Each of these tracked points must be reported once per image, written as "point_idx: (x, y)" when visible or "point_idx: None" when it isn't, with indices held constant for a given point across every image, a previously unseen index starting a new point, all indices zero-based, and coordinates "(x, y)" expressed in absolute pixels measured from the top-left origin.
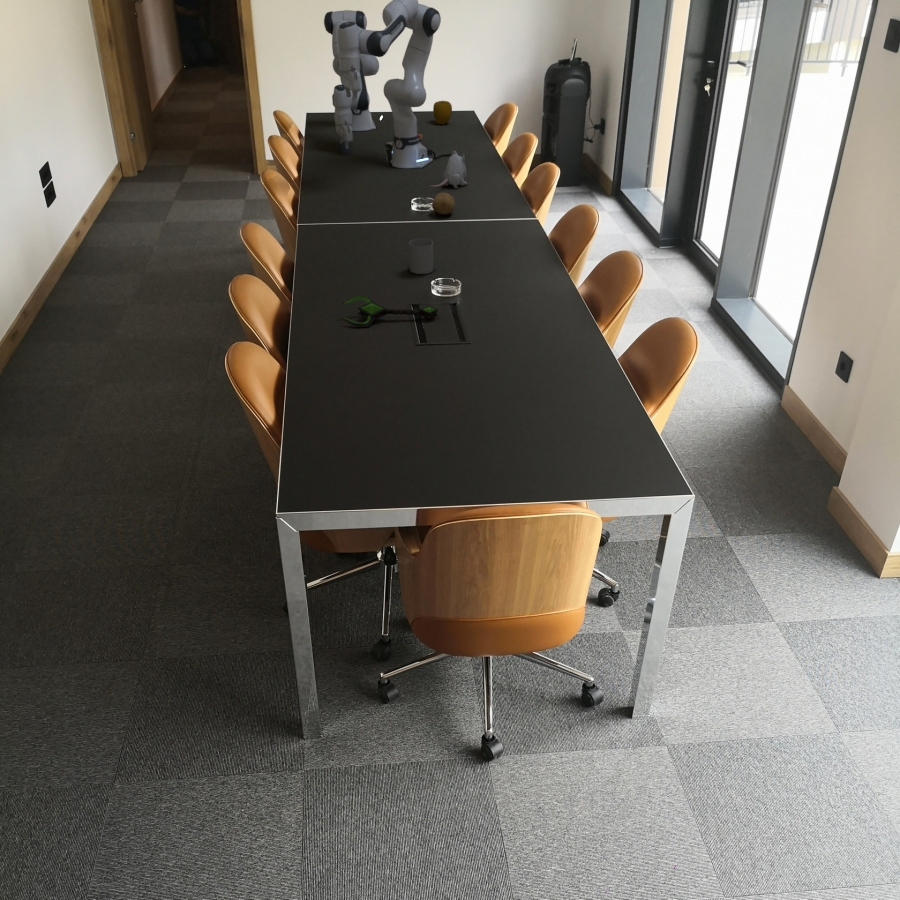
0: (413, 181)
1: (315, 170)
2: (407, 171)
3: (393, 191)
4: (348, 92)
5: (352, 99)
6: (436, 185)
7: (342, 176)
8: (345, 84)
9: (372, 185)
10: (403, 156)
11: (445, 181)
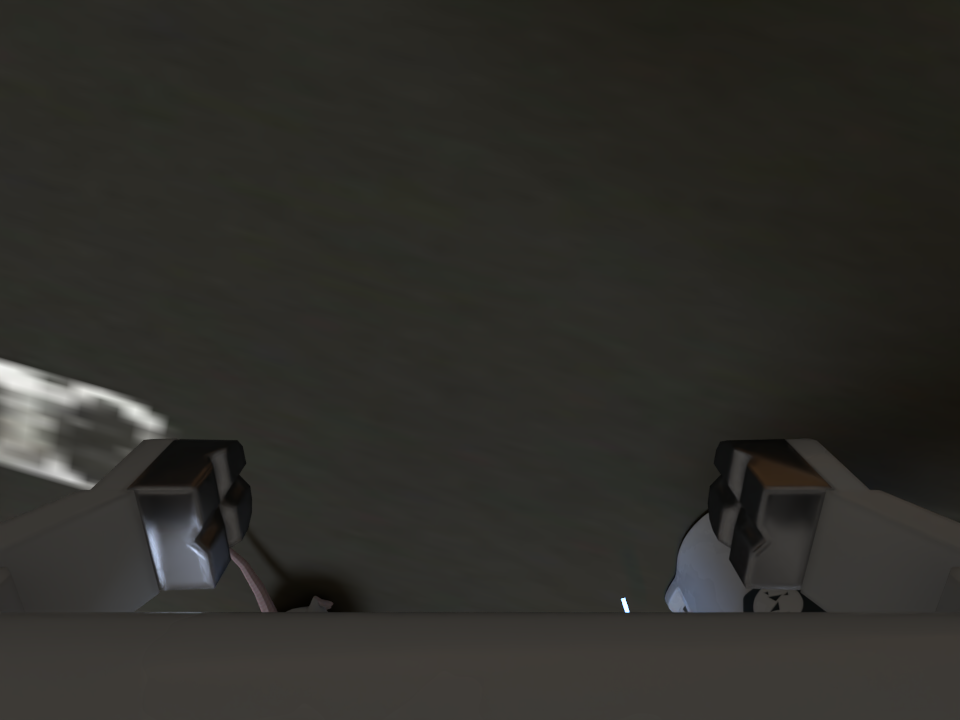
0: (451, 500)
1: (950, 32)
2: (637, 526)
3: (304, 363)
4: (815, 548)
5: (167, 450)
6: (231, 558)
7: (713, 175)
8: (752, 691)
9: (452, 292)
10: (725, 569)
11: (261, 608)
